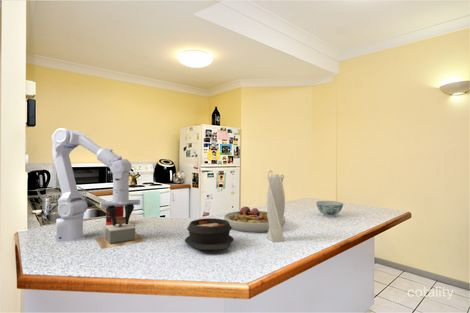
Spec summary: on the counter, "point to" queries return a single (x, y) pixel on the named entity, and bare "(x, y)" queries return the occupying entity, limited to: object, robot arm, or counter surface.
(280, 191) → the skyscraper
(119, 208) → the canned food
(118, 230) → the grey rectangular block
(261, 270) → the counter surface
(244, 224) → the bowl
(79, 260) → the counter surface
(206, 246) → the casserole
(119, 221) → the plunger
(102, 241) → the cork trivet
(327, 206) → the chinaware
